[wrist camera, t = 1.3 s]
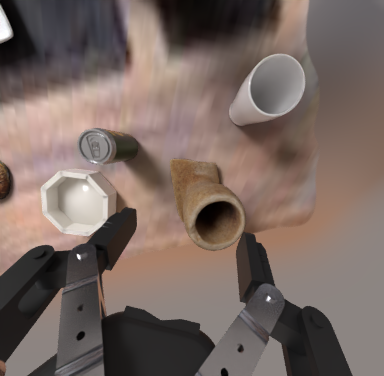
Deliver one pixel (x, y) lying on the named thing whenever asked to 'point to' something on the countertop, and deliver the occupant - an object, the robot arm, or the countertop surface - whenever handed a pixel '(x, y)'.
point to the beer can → (106, 146)
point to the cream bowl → (78, 201)
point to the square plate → (4, 27)
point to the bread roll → (4, 181)
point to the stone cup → (206, 205)
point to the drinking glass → (268, 90)
